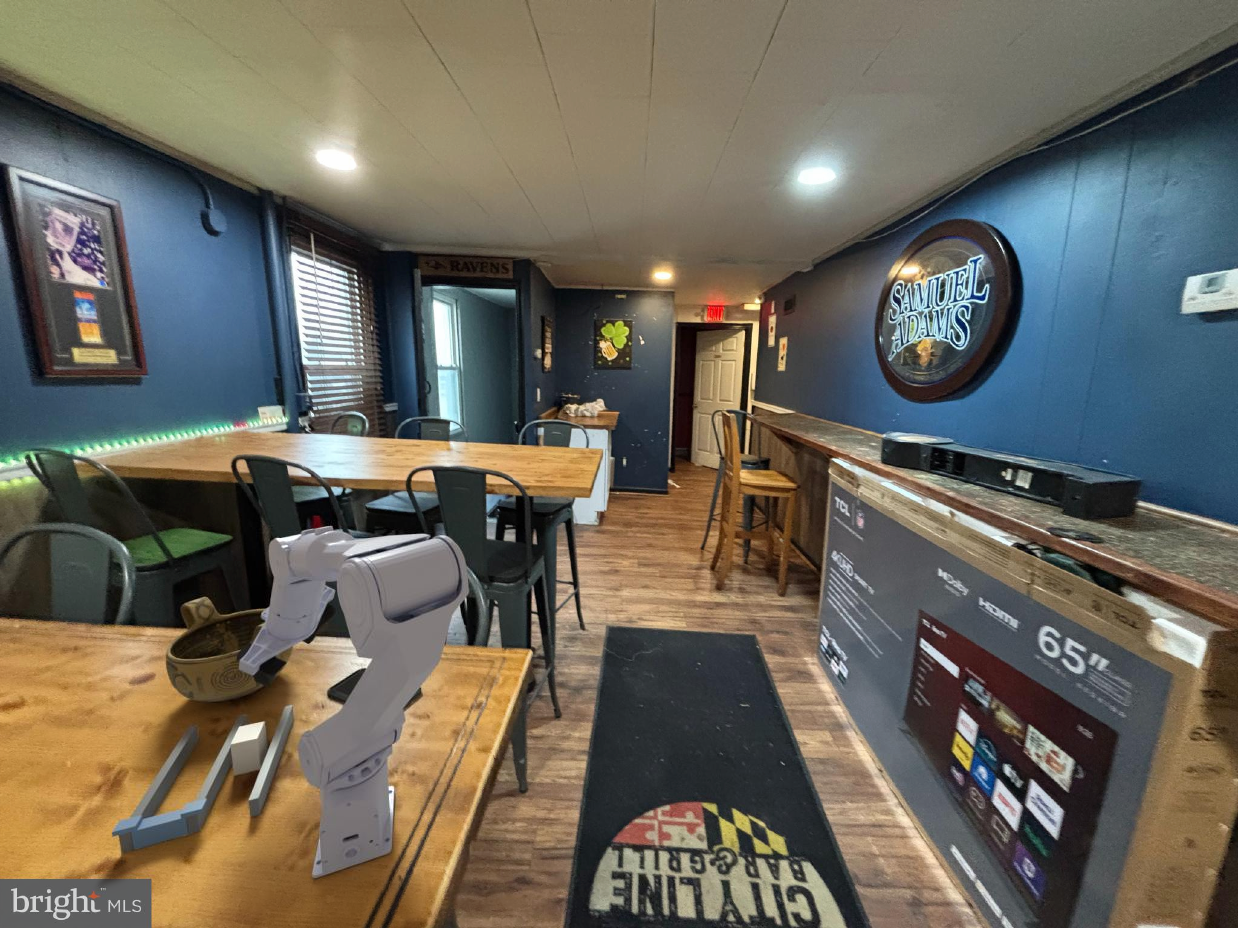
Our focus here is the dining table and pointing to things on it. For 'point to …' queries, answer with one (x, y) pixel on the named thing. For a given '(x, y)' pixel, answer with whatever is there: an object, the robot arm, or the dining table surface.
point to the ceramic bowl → (214, 653)
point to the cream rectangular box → (249, 748)
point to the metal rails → (190, 819)
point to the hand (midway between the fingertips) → (284, 659)
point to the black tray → (348, 684)
